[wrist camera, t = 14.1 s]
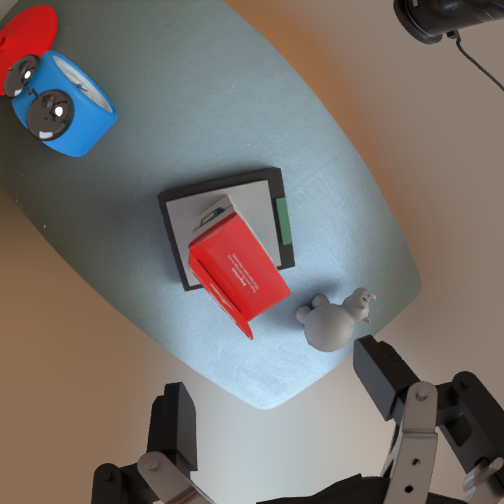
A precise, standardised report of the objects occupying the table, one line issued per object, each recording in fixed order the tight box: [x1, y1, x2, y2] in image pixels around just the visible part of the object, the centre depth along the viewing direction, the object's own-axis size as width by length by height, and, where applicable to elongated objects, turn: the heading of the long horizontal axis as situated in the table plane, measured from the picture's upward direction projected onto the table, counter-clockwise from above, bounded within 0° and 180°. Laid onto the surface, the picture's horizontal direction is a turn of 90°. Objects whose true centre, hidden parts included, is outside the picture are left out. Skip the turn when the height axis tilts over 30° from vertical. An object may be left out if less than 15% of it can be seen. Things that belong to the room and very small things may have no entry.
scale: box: [157, 168, 295, 292], centre depth 34 cm, size 15×13×3 cm
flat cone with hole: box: [0, 5, 58, 96], centre depth 17 cm, size 16×16×7 cm
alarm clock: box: [4, 50, 118, 157], centre depth 20 cm, size 13×6×15 cm, turn 39°
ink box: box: [188, 195, 291, 340], centre depth 26 cm, size 8×5×15 cm, turn 33°
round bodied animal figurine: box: [296, 288, 376, 352], centre depth 38 cm, size 7×12×8 cm, turn 121°
